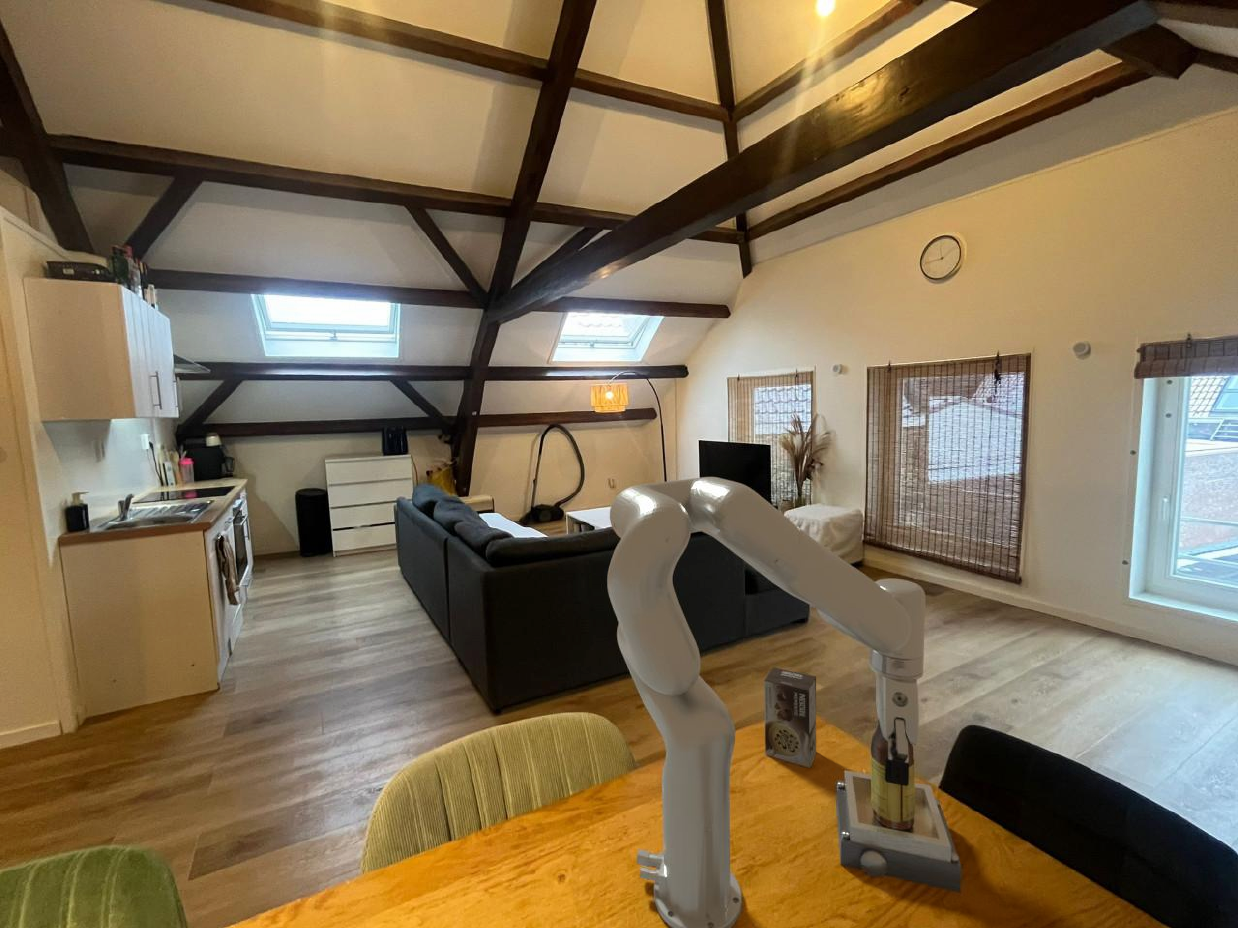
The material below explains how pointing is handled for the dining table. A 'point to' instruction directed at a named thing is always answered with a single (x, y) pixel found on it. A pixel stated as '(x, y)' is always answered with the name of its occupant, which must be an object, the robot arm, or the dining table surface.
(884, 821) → the sauce bottle
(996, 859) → the dining table surface
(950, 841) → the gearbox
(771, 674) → the coffee box
